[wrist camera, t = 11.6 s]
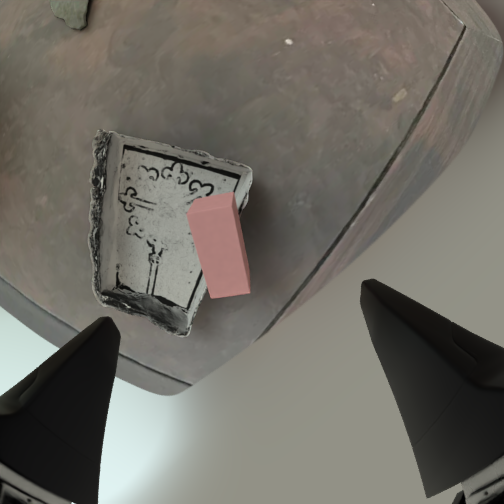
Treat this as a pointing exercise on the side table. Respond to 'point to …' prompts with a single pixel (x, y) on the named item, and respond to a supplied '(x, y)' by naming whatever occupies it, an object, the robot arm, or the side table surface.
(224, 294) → the eraser
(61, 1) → the stone
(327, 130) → the side table surface
